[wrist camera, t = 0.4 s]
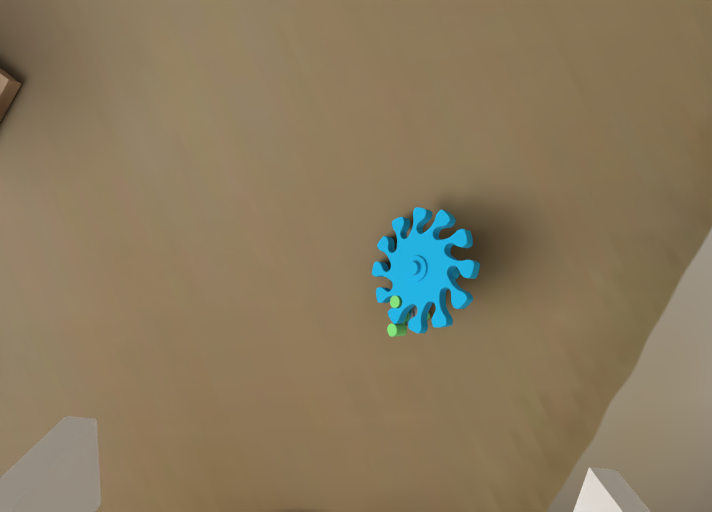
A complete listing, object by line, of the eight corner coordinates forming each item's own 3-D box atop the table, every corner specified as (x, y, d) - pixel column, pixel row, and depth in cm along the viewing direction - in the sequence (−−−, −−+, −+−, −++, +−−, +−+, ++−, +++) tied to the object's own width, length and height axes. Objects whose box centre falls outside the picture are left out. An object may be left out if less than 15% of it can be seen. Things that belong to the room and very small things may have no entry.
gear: (398, 186, 32) (494, 240, 25) (440, 200, 36) (533, 250, 29) (347, 298, 35) (420, 372, 29) (391, 299, 39) (464, 365, 33)
